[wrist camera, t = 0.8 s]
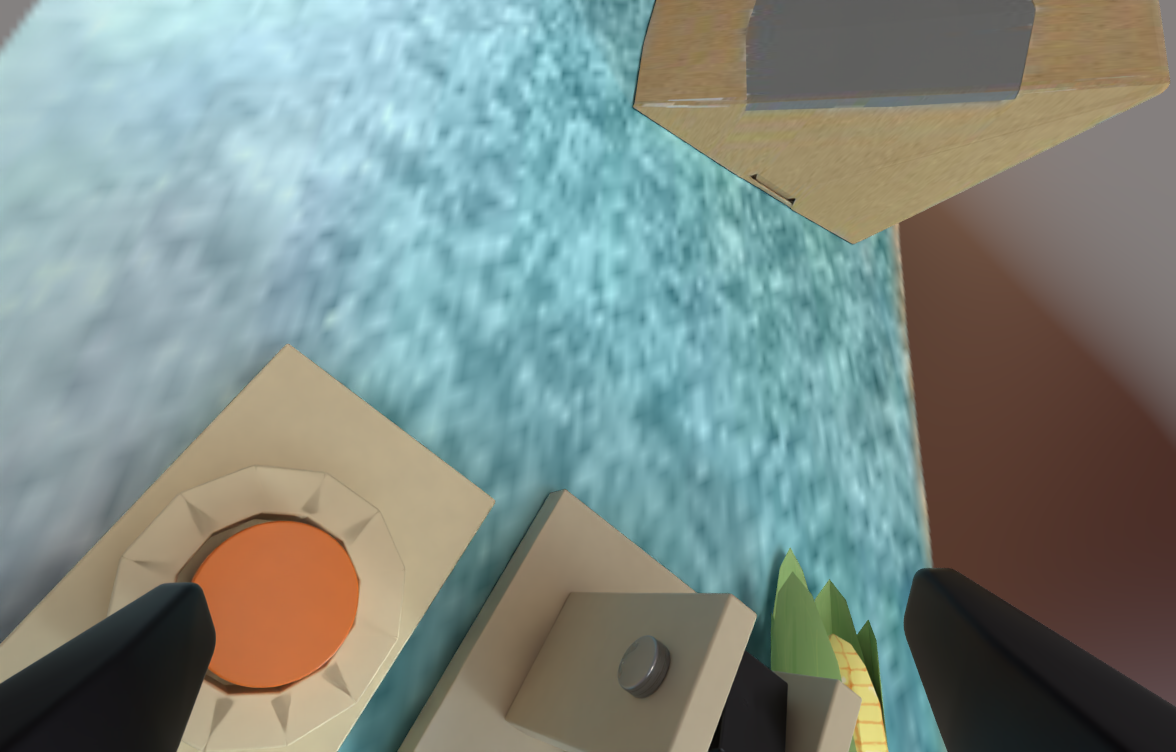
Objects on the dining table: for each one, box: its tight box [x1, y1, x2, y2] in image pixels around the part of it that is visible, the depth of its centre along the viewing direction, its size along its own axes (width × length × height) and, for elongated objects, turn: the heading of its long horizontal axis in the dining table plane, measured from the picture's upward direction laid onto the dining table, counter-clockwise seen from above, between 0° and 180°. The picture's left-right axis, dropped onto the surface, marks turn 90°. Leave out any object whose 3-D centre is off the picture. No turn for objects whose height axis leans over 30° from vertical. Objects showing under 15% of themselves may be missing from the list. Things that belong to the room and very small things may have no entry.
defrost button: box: [191, 521, 359, 688], centre depth 16 cm, size 4×4×2 cm
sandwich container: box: [633, 0, 1170, 244], centre depth 31 cm, size 9×15×15 cm, turn 76°
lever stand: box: [397, 489, 862, 752], centre depth 20 cm, size 10×9×9 cm
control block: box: [0, 344, 495, 752], centre depth 18 cm, size 12×8×4 cm, turn 147°
